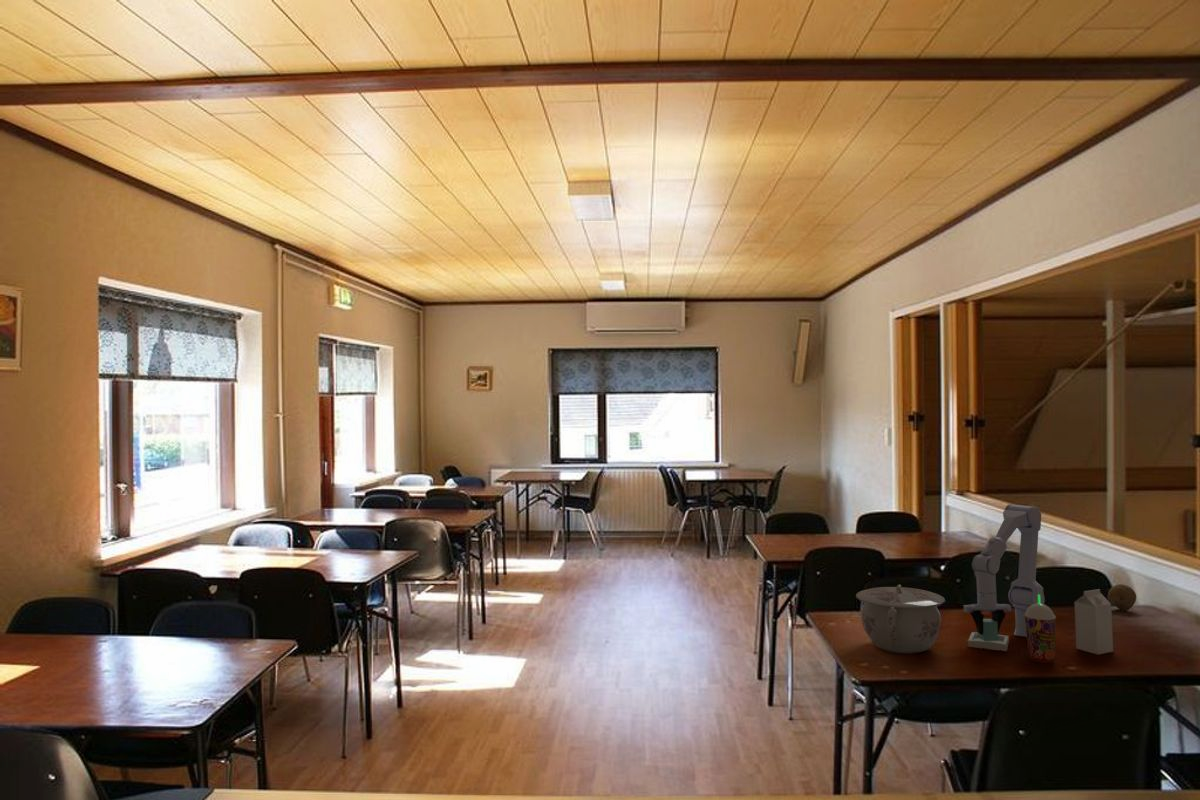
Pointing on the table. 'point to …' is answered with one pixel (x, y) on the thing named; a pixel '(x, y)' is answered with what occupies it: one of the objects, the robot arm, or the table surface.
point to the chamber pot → (901, 618)
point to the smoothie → (1040, 632)
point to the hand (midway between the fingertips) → (988, 633)
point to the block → (989, 630)
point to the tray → (988, 642)
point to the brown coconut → (1122, 597)
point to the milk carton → (1093, 623)
